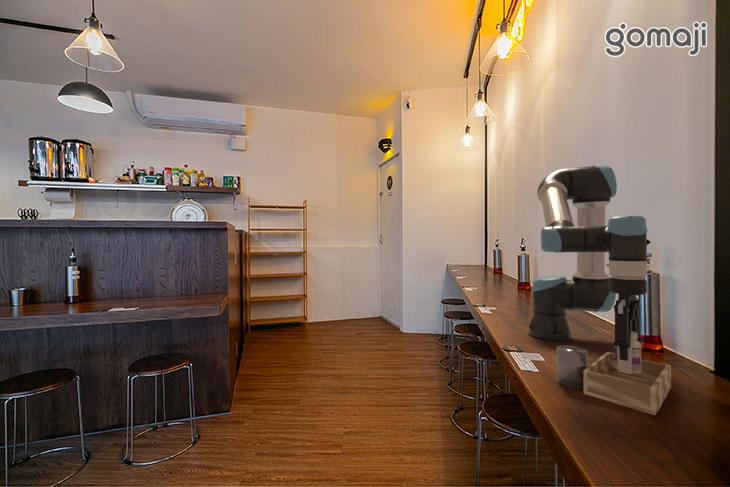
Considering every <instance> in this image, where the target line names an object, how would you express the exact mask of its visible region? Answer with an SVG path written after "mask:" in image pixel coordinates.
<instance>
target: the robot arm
mask: <svg viewBox="0 0 730 487" xmlns="http://www.w3.org/2000/svg"><path fill="white" fill-rule="evenodd" d="M617 189H618V187H617V178H616V174H615V171H614V170H613V169H612V167H611V166H609V165H590V166H582V167H572V168H562V169H558V170H555V171H553V172H551V173H550V174H548V175H547V176H546V177H544V178H543V179H542V180H541V182H540V183H539V185H538V187H537V192H536V193H537V198H538V201H539V202H540V203H541V204H542V210H543V217H544V221H545V222H544V223H545V227H542V228H541V230H540V246H541V247H540V248H541V251H542V252H545V253H547V252H548V253H556V254H559V253H576V254H577V255H576V258H577V260H576V264H577V265H576V267H577V268H576V272H574V273H573V274H572V279H567V276H565V275H547V276H545V275H544V276H540V277H536V278H534V279H533V281H532V289H531V291H532V315H531V319H530V321H529V324H528V327H527V329H528V330H527V331H528V332H527V333H528V335H530V336H532V337H534V338H537V339H542V340H547V341H555V342H556V341H559V342H560V341H561V342H562V341H569V340H571V339H573V331H572V328H571V325H570V323H569V320H568V317H567V311H580V312H593V313H597V312H599V313H608V312H610V311H611V310H612V309H614V310H613V311H614V340H613V341H614V342H612V345H616V346H617V364H618V371H619V372H623V373H627V374H632V347H631V345H630V342H631V331H633V332H636V333H637V334H638V338H637V341H638V342H640V343H641V342H642V340H643V339H642V338H641V337H640V336H641V334H640V329H641V328H640V303H641V300H640V299H639V298H637V296H645V295H646V294H647V293H648V280H646V279H645V278H647V276H648V261H647V234H648V233H647V232H648V228H647V220H646V218H645V217H644V216H642V215H623V216H613V217H610V218H609V219H608V223H607V225H606V207H607V205H609V204H610V203H611V198H614V197H615V196H616V195H617ZM568 200H572V205H573V206H574V207H575V208H576V210H577V211H576V212H577V213H576V215H577V216H576V218H577V219H576V225H575V223H574V220H573V216H572V213H571V210H570V206H569V203H568ZM606 253H608V263H606ZM605 267H607V268H608V273H606V268H605ZM610 276H611V277H610ZM617 295H618V297H617V298H618V299H617V300H616V296H617Z"/></svg>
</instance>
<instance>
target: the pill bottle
mask: <svg viewBox="0 0 730 487" xmlns="http://www.w3.org/2000/svg"><path fill="white" fill-rule="evenodd" d="M637 338H639V337H638V334H637V333H636V332H633V331H631V342H630V345H631V347H632V374H637V373H641V371H642V370H641V368H642V367H641V359H642V343H641V342H640V341H637ZM613 347H614V348H613V349H614V352H613V353H614V354H615V356H614V358H615V368H616V369H617V370H618V364H617V346H616V345H614V346H613Z"/></svg>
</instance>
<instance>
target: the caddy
mask: <svg viewBox="0 0 730 487" xmlns="http://www.w3.org/2000/svg"><path fill="white" fill-rule="evenodd" d="M614 356H615V354H614V352H609V351H607V352H605V353H604V354H602V355H601V356H600V357H598V358H597V359H596V360H595V361H594V362H593V363H591V364H589V366H587V368H586V369H585V370H584V388H583V394H584V395H587V396H591V397H594V398H596V399H600V400H603V401H607V402H610V403H613V404H616V405H620V406H623V407H627V408H628V409H629V408H630V409H633V410H636V411H639V412H642V413H647V414H649V415H651V416H652V415H653V416H656V415H657V413H658V412H659V410H660V409H661V407H662V405H663V403H664V401H665V399H666V398H667V396H668V394H669V393H670V390H671V389H672V365H670V364H665V363H661V362H656V361H652V360H648V359H647V360H646V359H642V358H641V367H642V368H641V370H642V371H641V373H637V374H627V373H623V372H619V371H618V370H617V369H616V368H615V358H614Z"/></svg>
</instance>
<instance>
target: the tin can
mask: <svg viewBox="0 0 730 487" xmlns="http://www.w3.org/2000/svg"><path fill="white" fill-rule="evenodd" d="M587 367H588V350H587V349H585V348H582V347H579V346H575V345H568V344H567V345H566V344H562V345H561V344H560V345H558V346H556V381H557V382H558V384H560V385H562V386H563V387H564V386H565V387H567V388H571V389H584V370H585V369H586V368H587Z"/></svg>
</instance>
